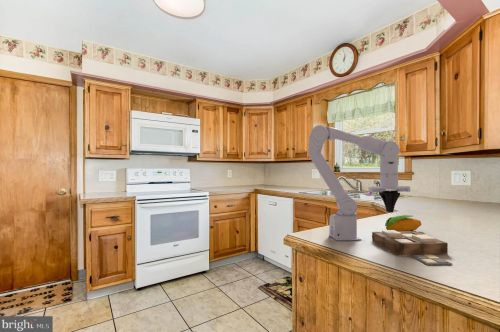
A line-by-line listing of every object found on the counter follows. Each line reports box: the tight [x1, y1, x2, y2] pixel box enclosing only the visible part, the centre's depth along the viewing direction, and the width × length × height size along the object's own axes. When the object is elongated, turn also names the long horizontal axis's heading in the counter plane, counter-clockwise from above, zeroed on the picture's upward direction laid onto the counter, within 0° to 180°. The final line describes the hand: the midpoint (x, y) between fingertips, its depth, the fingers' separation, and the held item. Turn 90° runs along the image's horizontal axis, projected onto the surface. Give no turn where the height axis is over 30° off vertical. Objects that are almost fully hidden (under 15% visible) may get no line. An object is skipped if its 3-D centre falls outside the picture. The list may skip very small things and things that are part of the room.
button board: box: [371, 230, 449, 256], centre depth 84 cm, size 16×14×4 cm
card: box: [409, 255, 453, 267], centre depth 72 cm, size 7×7×1 cm
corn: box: [384, 214, 422, 232], centre depth 102 cm, size 7×8×20 cm
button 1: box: [381, 229, 402, 237], centre depth 87 cm, size 4×4×2 cm
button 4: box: [412, 234, 436, 242], centre depth 81 cm, size 4×4×2 cm
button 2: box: [395, 239, 412, 243], centre depth 80 cm, size 4×4×2 cm
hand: (389, 211), depth 92 cm, fingers closed
